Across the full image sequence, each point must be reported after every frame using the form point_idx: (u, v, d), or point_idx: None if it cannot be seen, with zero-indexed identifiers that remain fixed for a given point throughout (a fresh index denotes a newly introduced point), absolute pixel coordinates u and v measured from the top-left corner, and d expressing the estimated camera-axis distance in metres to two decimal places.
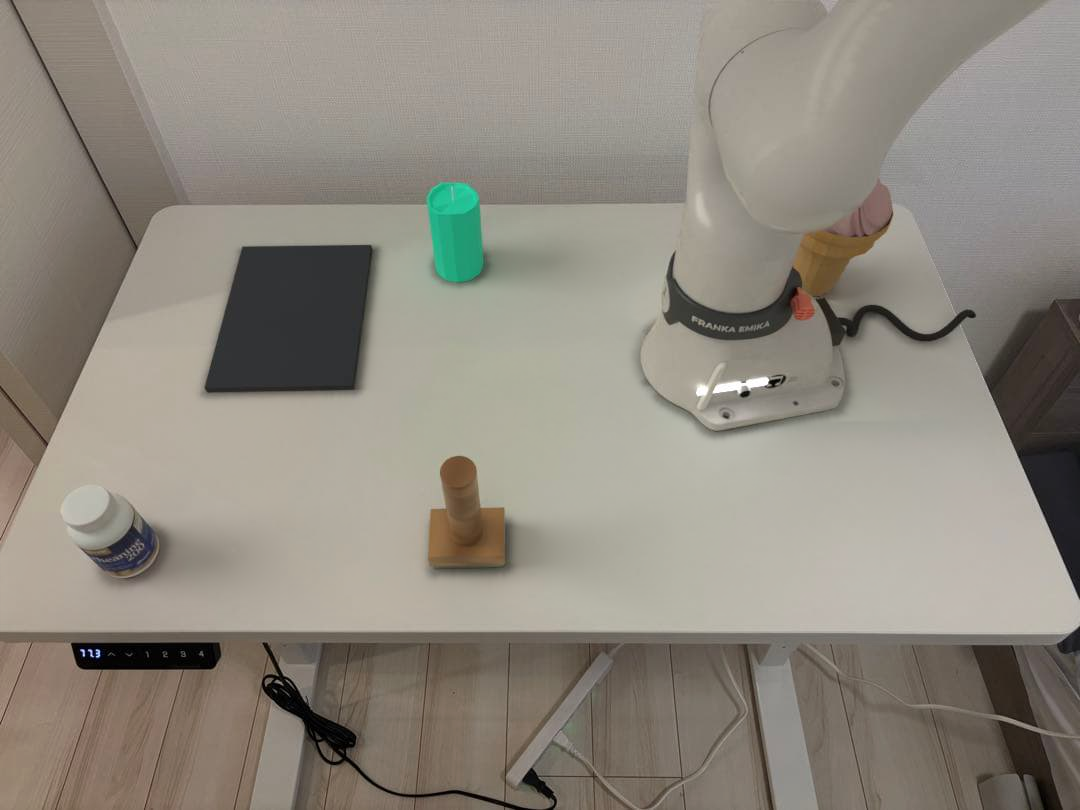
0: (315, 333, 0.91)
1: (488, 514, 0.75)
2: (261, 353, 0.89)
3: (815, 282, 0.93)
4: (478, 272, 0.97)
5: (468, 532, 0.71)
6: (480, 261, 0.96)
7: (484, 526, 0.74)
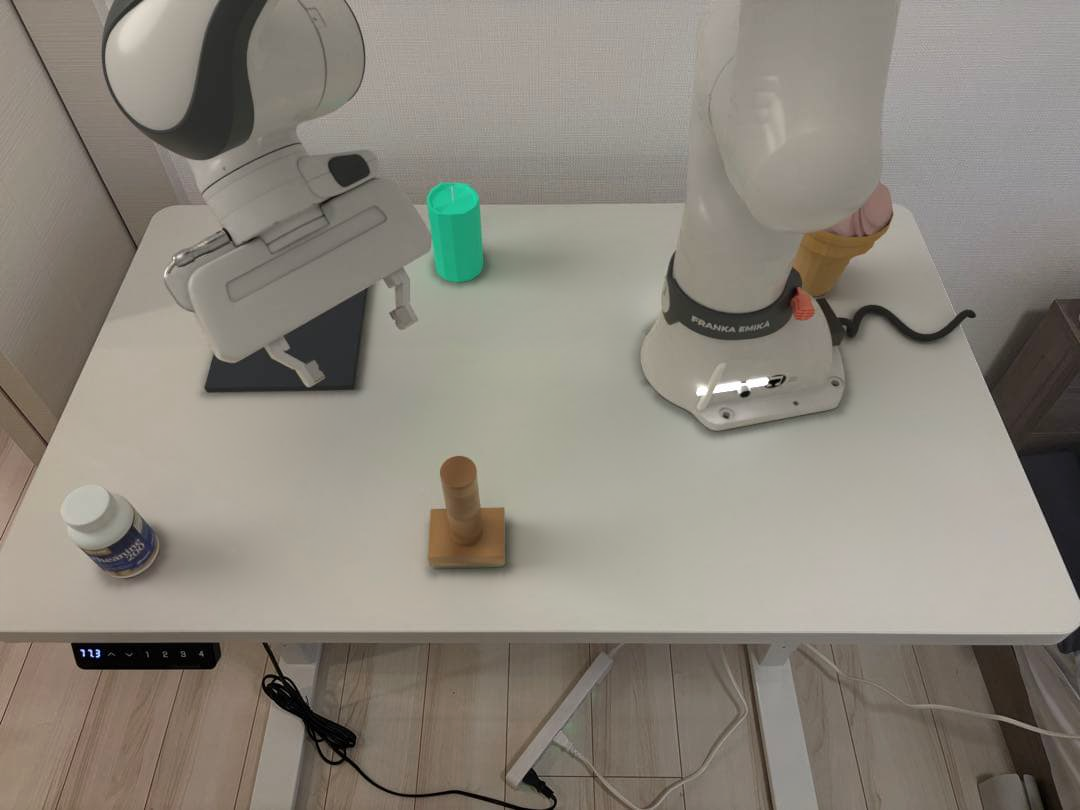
0: (315, 333, 0.91)
1: (488, 514, 0.75)
2: (261, 353, 0.89)
3: (815, 282, 0.93)
4: (478, 272, 0.97)
5: (468, 532, 0.71)
6: (480, 261, 0.96)
7: (484, 526, 0.74)
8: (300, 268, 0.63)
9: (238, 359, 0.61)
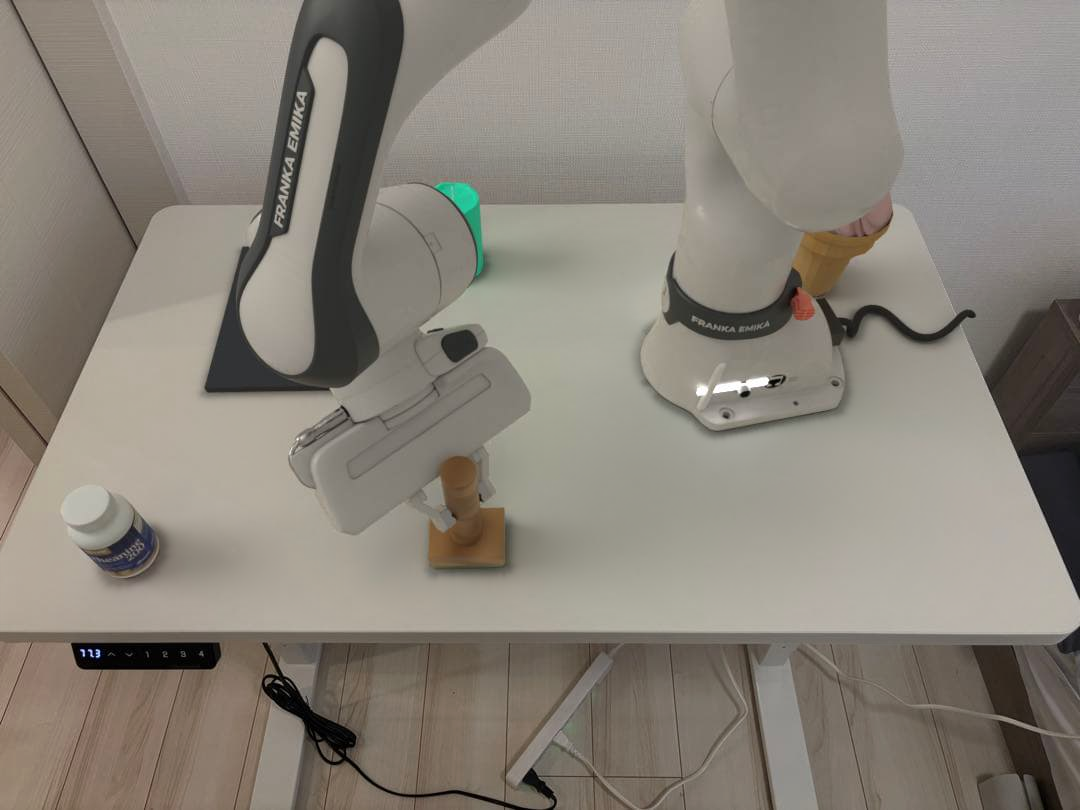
0: None
1: (488, 514, 0.75)
2: None
3: (815, 282, 0.93)
4: (478, 272, 0.97)
5: (468, 532, 0.71)
6: (480, 261, 0.96)
7: (484, 526, 0.74)
8: (413, 440, 0.65)
9: (357, 533, 0.63)
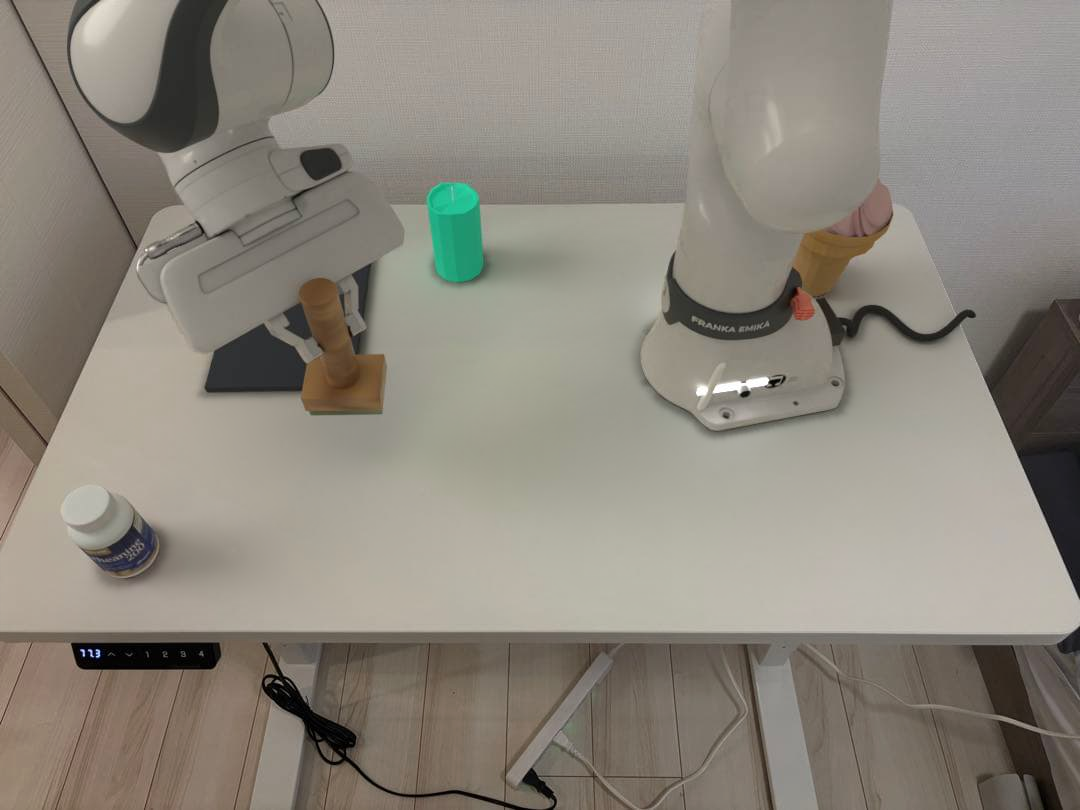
0: None
1: (367, 360, 0.73)
2: (261, 353, 0.89)
3: (815, 282, 0.93)
4: (478, 272, 0.97)
5: (340, 369, 0.69)
6: (480, 261, 0.96)
7: (362, 371, 0.72)
8: (272, 260, 0.63)
9: (210, 350, 0.61)
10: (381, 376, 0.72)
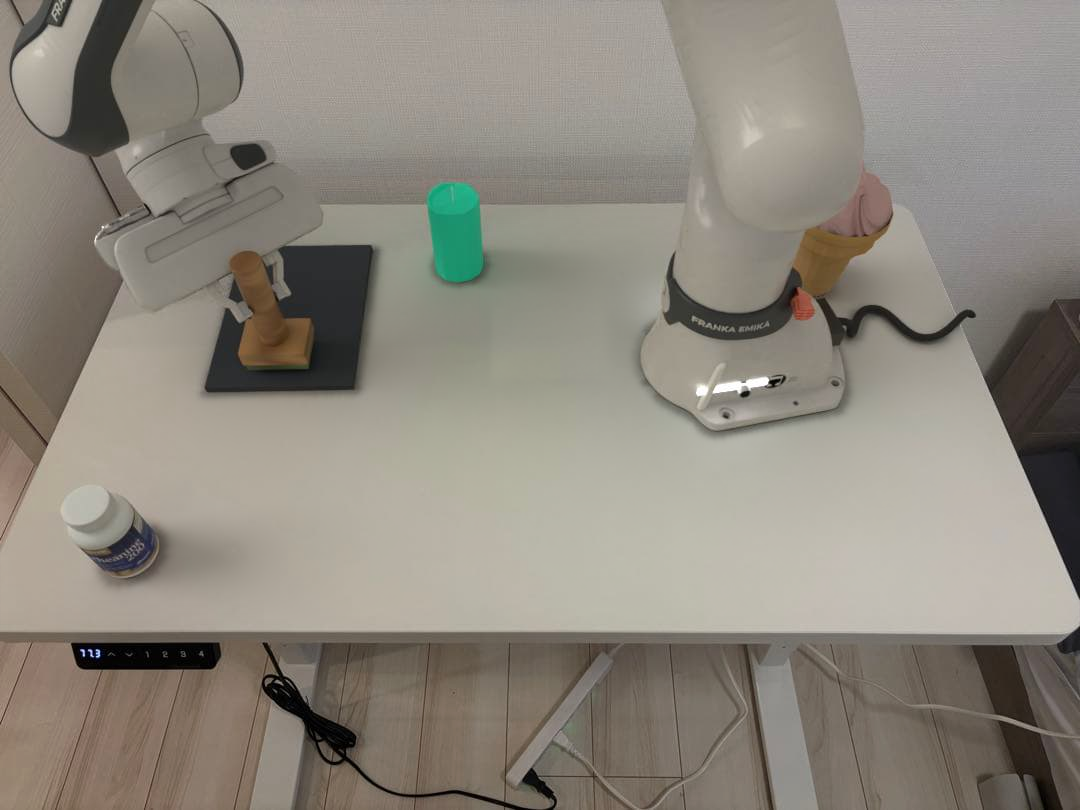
0: (315, 333, 0.91)
1: (296, 323, 0.86)
2: None
3: (815, 282, 0.93)
4: (478, 272, 0.97)
5: (269, 328, 0.82)
6: (480, 261, 0.96)
7: (290, 332, 0.86)
8: (208, 236, 0.77)
9: (156, 309, 0.75)
10: (306, 336, 0.85)
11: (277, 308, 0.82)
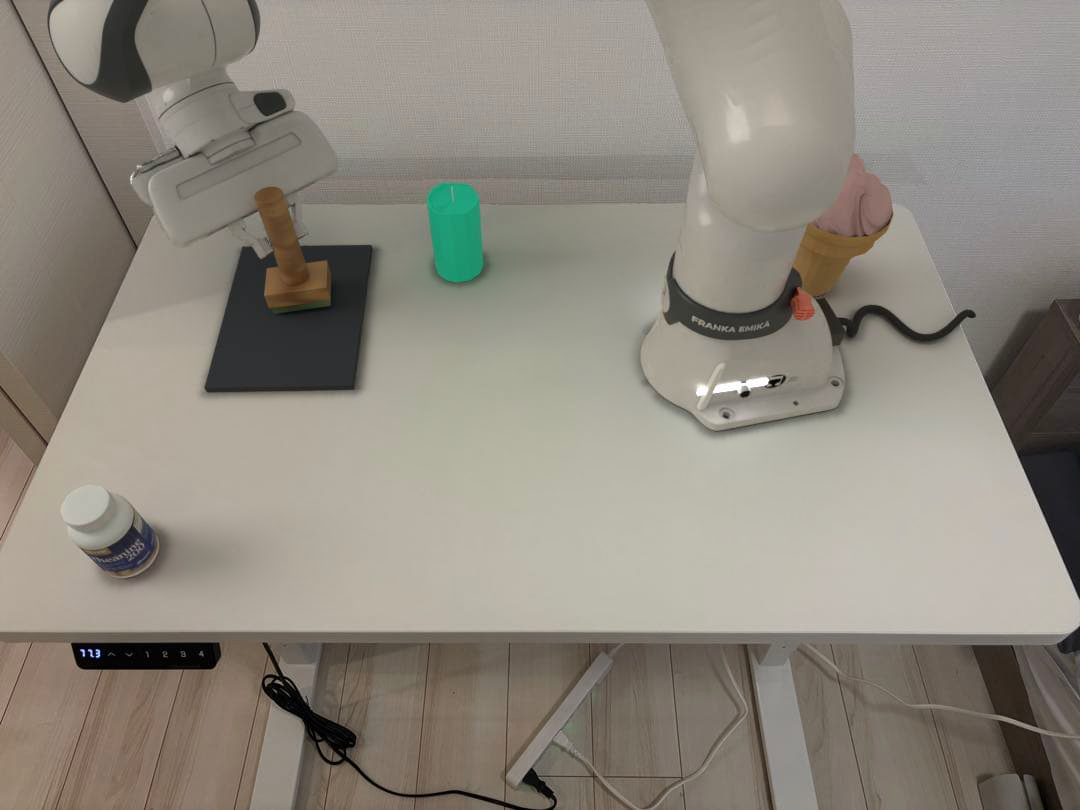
0: (315, 333, 0.91)
1: (314, 265, 0.92)
2: (261, 353, 0.89)
3: (815, 282, 0.93)
4: (478, 272, 0.97)
5: (292, 265, 0.88)
6: (480, 261, 0.96)
7: (310, 272, 0.91)
8: (233, 177, 0.84)
9: (186, 242, 0.82)
10: (326, 274, 0.91)
11: (298, 244, 0.88)
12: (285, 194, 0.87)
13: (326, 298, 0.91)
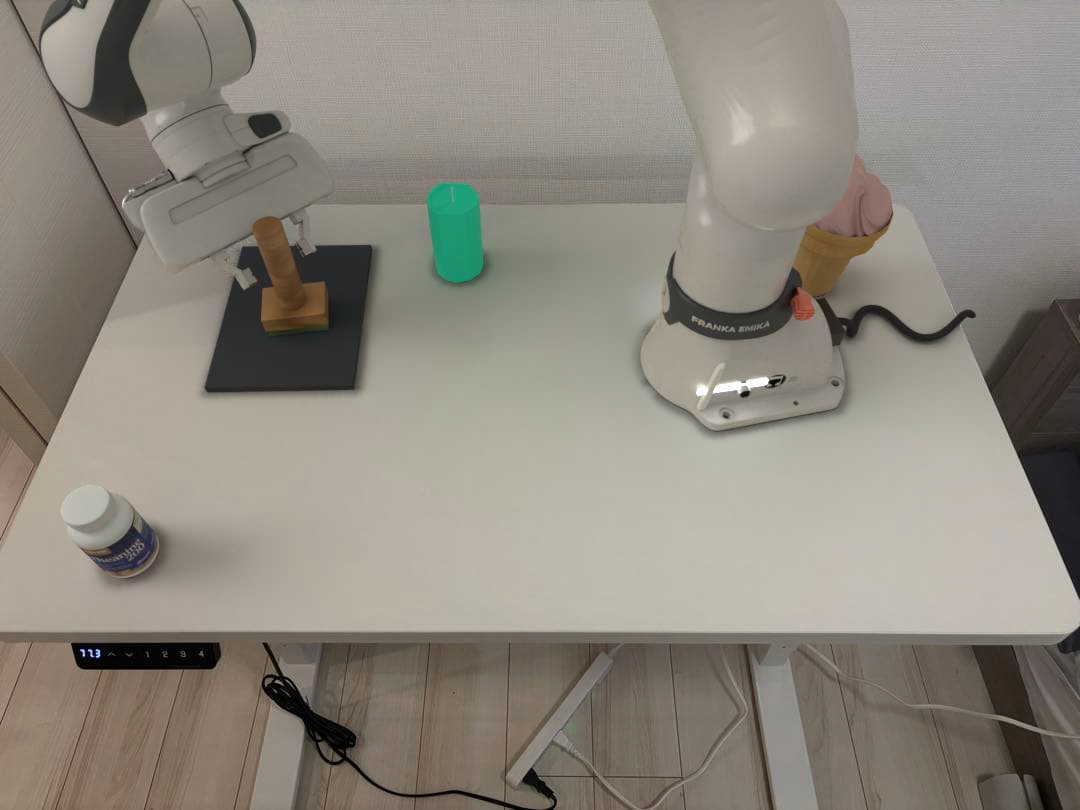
0: (315, 333, 0.91)
1: (311, 287, 0.91)
2: (261, 353, 0.89)
3: (815, 282, 0.93)
4: (478, 272, 0.97)
5: (290, 292, 0.86)
6: (480, 261, 0.96)
7: (308, 295, 0.90)
8: (227, 200, 0.82)
9: (179, 268, 0.80)
10: (324, 298, 0.90)
11: (297, 271, 0.86)
12: (281, 217, 0.85)
13: (324, 323, 0.90)
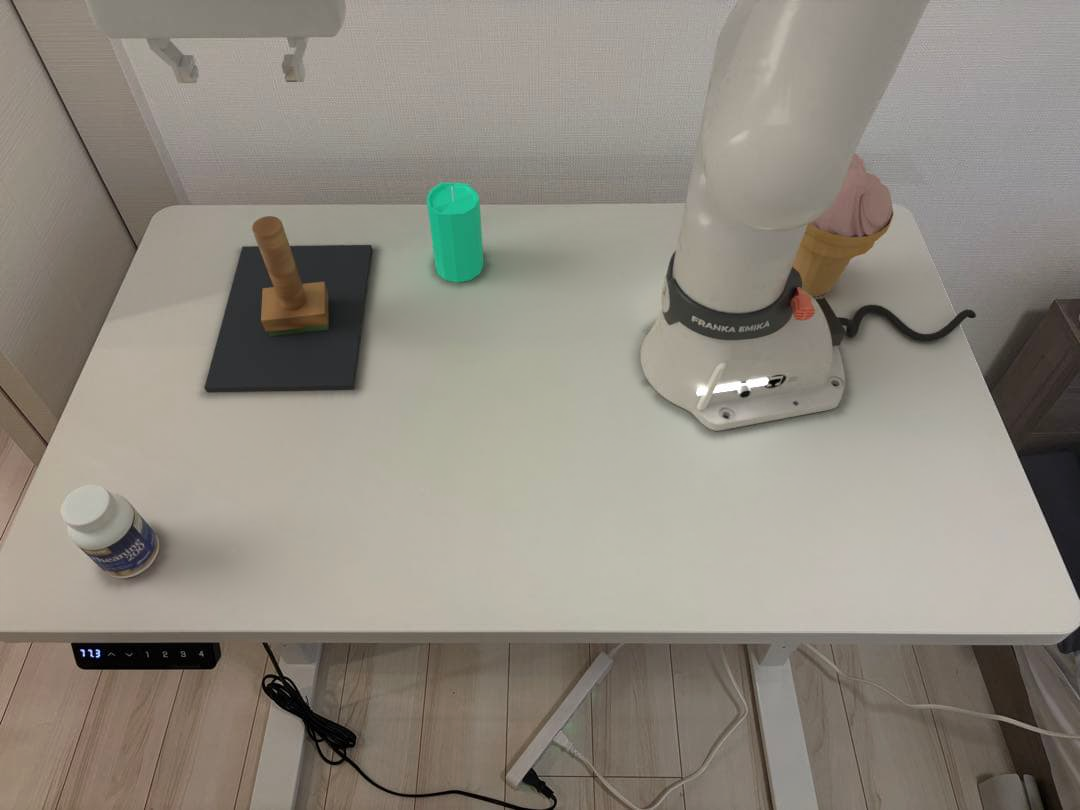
0: (315, 333, 0.91)
1: (311, 287, 0.91)
2: (261, 353, 0.89)
3: (815, 282, 0.93)
4: (478, 272, 0.97)
5: (290, 292, 0.86)
6: (480, 261, 0.96)
7: (308, 295, 0.90)
8: None
9: None
10: (324, 298, 0.90)
11: (297, 271, 0.86)
12: (255, 36, 0.66)
13: (324, 323, 0.90)
